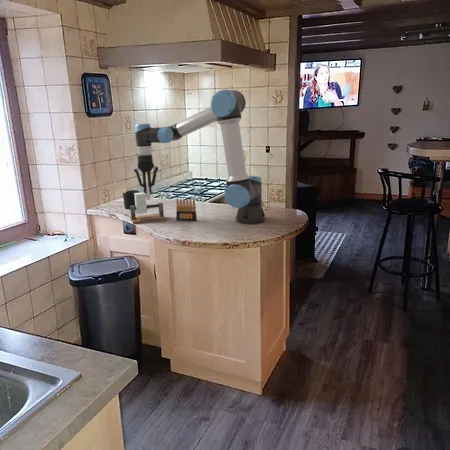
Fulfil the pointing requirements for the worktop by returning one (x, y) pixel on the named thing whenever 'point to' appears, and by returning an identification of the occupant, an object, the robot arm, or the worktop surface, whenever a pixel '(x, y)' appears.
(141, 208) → the sleeve
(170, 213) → the worktop surface
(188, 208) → the ammunition clip
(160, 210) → the cord rack
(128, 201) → the pen holder
